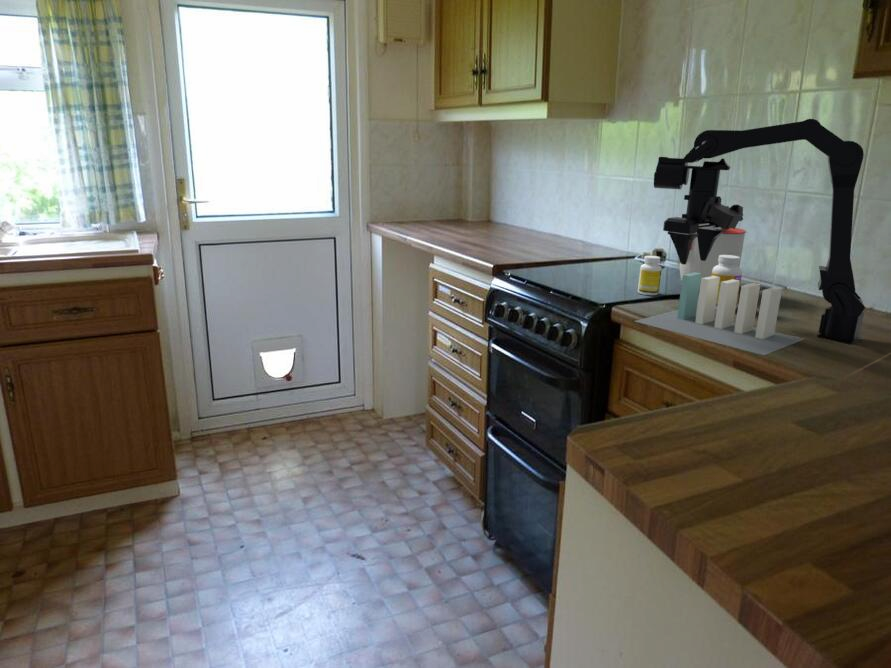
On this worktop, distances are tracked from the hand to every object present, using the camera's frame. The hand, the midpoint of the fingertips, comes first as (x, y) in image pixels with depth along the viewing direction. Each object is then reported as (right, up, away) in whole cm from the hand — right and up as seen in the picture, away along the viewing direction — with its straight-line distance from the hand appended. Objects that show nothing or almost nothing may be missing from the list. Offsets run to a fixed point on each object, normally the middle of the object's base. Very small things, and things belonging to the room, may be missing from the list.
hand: (693, 262), depth 147 cm
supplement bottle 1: (-2, -5, +28) cm, 28 cm away
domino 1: (+3, -13, 0) cm, 14 cm away
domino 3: (+8, -15, -6) cm, 19 cm away
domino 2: (+5, -14, -3) cm, 16 cm away
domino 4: (+11, -16, -9) cm, 22 cm away
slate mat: (+3, -15, -6) cm, 17 cm away
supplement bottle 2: (+12, -10, +14) cm, 21 cm away
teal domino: (0, -12, +4) cm, 13 cm away
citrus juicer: (+14, -5, +32) cm, 35 cm away
